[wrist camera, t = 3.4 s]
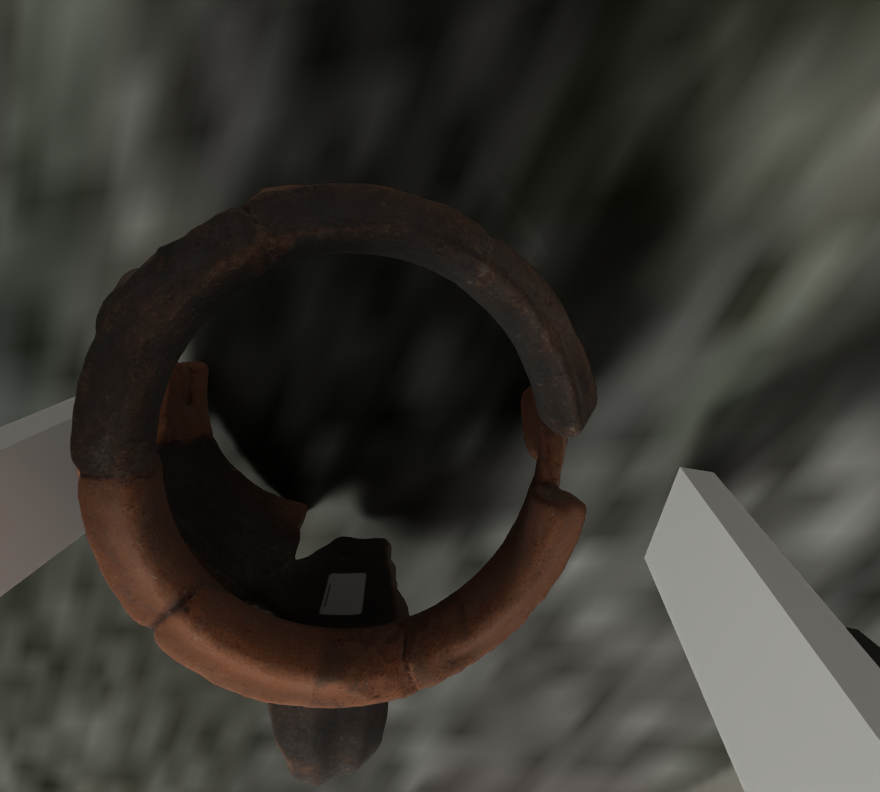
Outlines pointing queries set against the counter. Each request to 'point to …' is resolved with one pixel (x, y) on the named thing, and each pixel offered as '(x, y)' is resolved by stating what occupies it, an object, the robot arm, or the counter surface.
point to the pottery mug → (279, 520)
